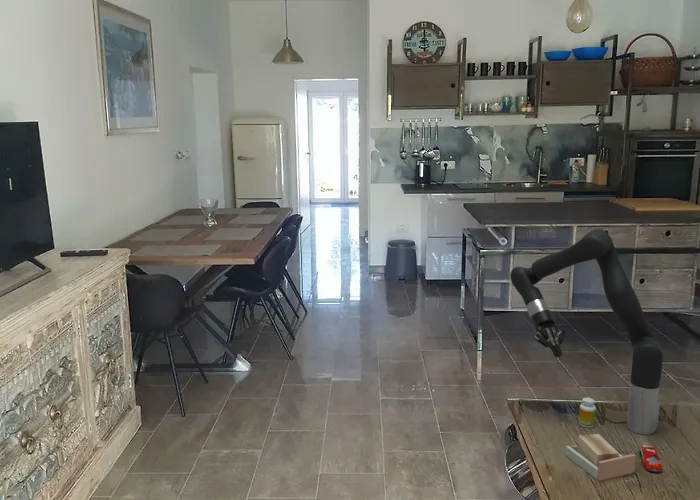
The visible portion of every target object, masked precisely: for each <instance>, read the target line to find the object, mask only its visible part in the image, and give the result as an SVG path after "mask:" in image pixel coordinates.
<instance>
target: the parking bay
mask: <svg viewBox="0 0 700 500" xmlns="http://www.w3.org/2000/svg"><path fill="white" fill-rule="evenodd" d="M564 455H565V456H566V457H567V458H569V460H571V461H573V462H574V463H575V464H576V465H578V466H579V467H581V469H583V470H584V471H585V472H587V474H589V475H590V476H592V477H593V478H595V479H596V480H598V481H599V482H601V481H606V480H610V479H614V478H618V477H622V476H627V475H630V474H634V473H635V471H636V470H635V469H636V467H635V466H636V456H637V455H636V454H634V453H632V454H631V453H630V454H626V455H622V454H621V453H619V457H617V458H612V459H608V460H603V461H599V462H598V467H597V466H595V465H594V464H593V463H591V462H590V461H588V460H587V459H586V458H584V457H583V456H582V455H580V454H579V453H578V452H577V451H576V450H575V449H574V448H572V447H571V446H570V445H566V446H565V453H564Z"/></svg>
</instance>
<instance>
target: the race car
mask: <svg viewBox="0 0 700 500" xmlns="http://www.w3.org/2000/svg"><path fill="white" fill-rule="evenodd" d="M639 448H640V449H639V456H640V460H641V461H642V465H643V469H644V470H646V471H648V472H649V473H650V472H651V473H662V472H663V469H664V468H663V467H664V466H663V463H662V462H661V460H662V458H661V457H660V456H659V453H658V451H657V449H656V447H654V446H652V445H646V444H642V445H641V446H640V447H639Z"/></svg>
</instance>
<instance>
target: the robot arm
mask: <svg viewBox="0 0 700 500" xmlns="http://www.w3.org/2000/svg"><path fill="white" fill-rule="evenodd" d="M593 260H595V261H596V262H597V264H598V266H599V268H600V269H599V270H600V272H601V277H602V278H601V279H602V286H603V291H604V295H605V297H606V299H607V300H606V301H607V302H608V304H609V307H610V308H611V310H612V312H613V314H614V315H615V316H616V318H617V319H618V320H619V322H620V323H621V324H622V326H623V327H624V328H625V330H626V332H627V335H628V338H629V340H630V343H631V347H632V363H631V373H630V380H629V381H630V382H629V393H628V407H627V414H626V415H627V416H626V417H627V418H626V428H627V429H628V430H629V431H631V432H633V433H635V434H638V435H647V436H648V435H652V434H654V433H656V431H657V430H658V425H659V415H660V414H659V413H660V405H659V404H658V402H659V393H660V392H659V391H660V383H661V381H662V380H661V379H662V369H663V361H664V359H663V358H664V355H663V354H664V353H663V348H662V346H661V344H660V342H659V341H658V339H657V338H656V336H655V335H654V333H653V331H652V330H651V328H650V326H649V324H648V322H647V320H646V317H645V314H644V312H643V308H642V306H641V304H640V303H641V302H640V301H639V299H638V296H637V293H636V292H635V290H634V287H633V286H632V284H631V282H630V279H629V278H628V275H627V274H626V271H625V270H624V267H623V266H622V264H621V262H620V261H621V260H620V259H619V256H618V253H617V250H616V246H615V243H614V241H613V239H612V237H611V236H610V234H609V233H608V231H605V230H604V229H601V228H594V229H592V230H591V231H589V232H588V233H586V234H585V235H583V237H582V238H580V240H578V241H577V242H575V243H574V244H573V245H571V246H570V247H567V248H565V249H564V250H560V251H558V252H557V251H556V252H554V253H550V254H548V255H546V256H544V257H541V258H540V259H537V260H535V261H534V262H532V264H531V266H530V267H529V268H528V267H523V266H516V267H513V268H512V269H511V272H510V273H509V274H510V281H511V284H512V285H513V286H514V288H515V290H516V291H517V293H518V294H519V295H520V296H521V297H522V300H523V302H524V304H525V308H526V310H527V314H528V315H529V317H530V319H531V323H532V324H533V327H534V329H536V330H535V331H536V333H535V335H533V337H532V338H533V340H536V342H537V343H539V344H540V345H542V346H543V347H544V348H549V349H550V350H551V352H552V354H553V356H554V357H555V358H561V356H563V350H562V348H561V347H560V345H562V344H563V342H564V338H565V334H566V330H565V329H562V330H561V329H559V327H558V326H557V324H556V323H555V322H556V321H555V318H554V316H553V314H552V312H551V310H550V307H549V306H548V304H547V301H545V298H544V297H543V294H542V292H541V290H540V288H538V287H537V286H535V285H536V284H538V283H539V282H540V281H542V280H543V279H544V278H547V277H549V276H551V275H553V274H556V273H558V272H560V271H562V270H564V269H567V268H570V267H571V266H575V265H577V264H581V263H585V262H589V261H593Z"/></svg>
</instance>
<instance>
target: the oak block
mask: <svg viewBox="0 0 700 500" xmlns="http://www.w3.org/2000/svg"><path fill="white" fill-rule="evenodd" d="M577 439H578V440H577V441H578V442H577V451H576V452H578V453H579V454H580V455H582V456H583V457H584V458H586V459H587V460H588V461H590V462H591V463H593V464H594V465H595V466H597V467H598V462H599V461H603V460H608V459H612V458H617V457H619V454H620V453H619V452H618V451H617V449H615V448H614V447H613V446H612V445H611V444H610V443H609V442H608V441H606V439H605V438H603V436H601V435H600V434H599V433H596V434H595V433H594V434H579V435H578V438H577Z"/></svg>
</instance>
